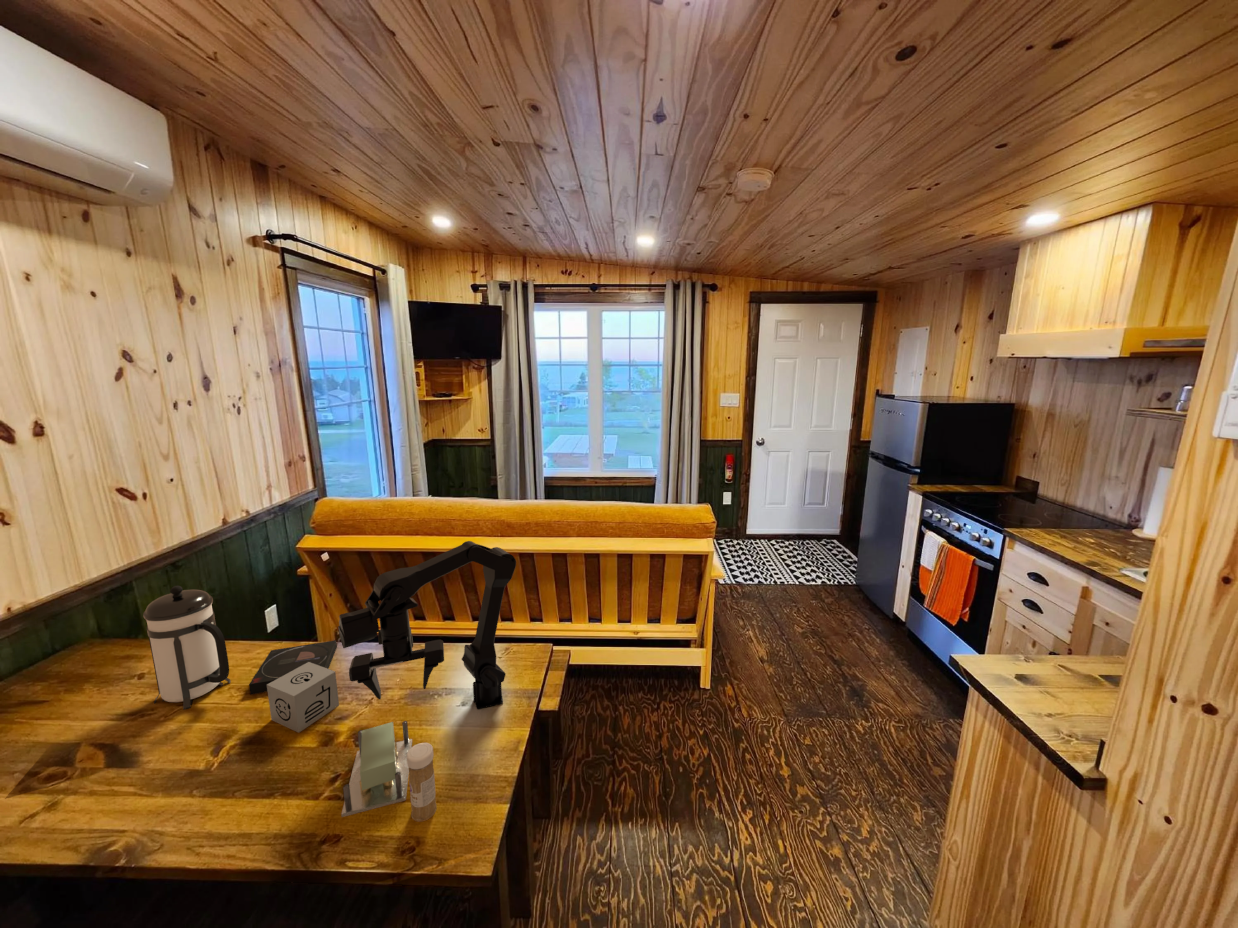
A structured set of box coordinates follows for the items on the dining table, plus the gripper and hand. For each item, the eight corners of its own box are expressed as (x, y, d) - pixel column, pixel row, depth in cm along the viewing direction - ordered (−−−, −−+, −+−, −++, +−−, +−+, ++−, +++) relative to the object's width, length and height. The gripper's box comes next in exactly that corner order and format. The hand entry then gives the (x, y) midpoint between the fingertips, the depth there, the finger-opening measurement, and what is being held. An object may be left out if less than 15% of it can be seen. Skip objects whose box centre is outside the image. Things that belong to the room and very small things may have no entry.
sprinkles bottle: (407, 813, 89) (401, 751, 87) (429, 797, 92) (425, 737, 90) (418, 828, 86) (413, 764, 84) (441, 811, 89) (437, 749, 87)
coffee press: (141, 724, 111) (118, 607, 106) (167, 685, 125) (148, 580, 120) (233, 701, 119) (216, 591, 114) (247, 668, 133) (233, 568, 128)
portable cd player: (337, 651, 143) (336, 638, 142) (324, 684, 127) (322, 671, 126) (273, 661, 137) (271, 649, 136) (250, 698, 121) (248, 684, 121)
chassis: (357, 754, 103) (355, 730, 102) (412, 742, 106) (410, 719, 105) (341, 818, 88) (338, 790, 87) (405, 801, 91) (403, 774, 90)
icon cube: (339, 707, 118) (335, 671, 116) (299, 734, 109) (294, 695, 107) (312, 696, 121) (308, 661, 120) (271, 722, 112) (266, 684, 111)
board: (363, 747, 100) (361, 730, 100) (394, 737, 103) (393, 721, 102) (362, 790, 90) (360, 772, 89) (396, 778, 92) (394, 760, 92)
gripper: (440, 605, 113) (445, 663, 116) (353, 620, 107) (361, 681, 110) (441, 628, 103) (446, 691, 106) (344, 646, 96) (353, 712, 99)
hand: (402, 692), depth 106 cm, fingers open, 9 cm apart
